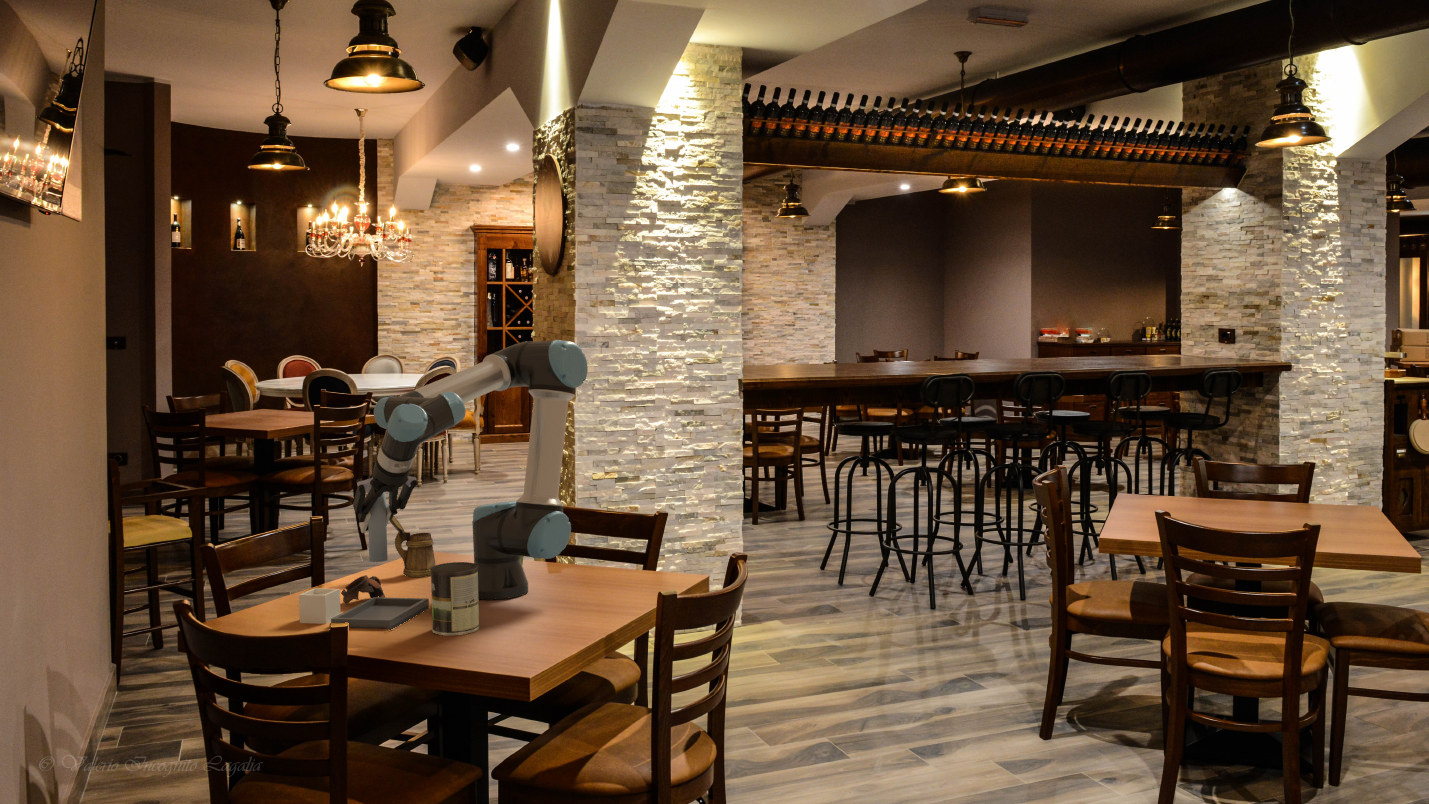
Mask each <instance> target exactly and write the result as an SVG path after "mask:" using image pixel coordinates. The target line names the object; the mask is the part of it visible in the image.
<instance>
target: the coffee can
mask: <svg viewBox="0 0 1429 804" xmlns="http://www.w3.org/2000/svg"><path fill="white" fill-rule="evenodd" d="M430 572H431V576H430V583H431V589H430V590H431V620H432V621H431V622H432V624H431V625H432V626H431V627H432V628H431V630H432V631H431V632H432V633H433V634H434V633H435V634H434V635H437V634H438V635H437V636H442V635H443V636H444V637H454V636H455V635H458V636H464V635H469V634H472V633H475V632H477V631H479V629H480V612H479V611H480V609H479V599H478V565H477V564H475V563H474V562H467V561H453V562H445V563H439V564H436V566H433V567H431V568H430ZM468 633H469V634H468ZM463 634H464V635H463ZM455 637H456V636H455Z"/></svg>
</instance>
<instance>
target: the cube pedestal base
mask: <svg viewBox="0 0 1429 804" xmlns="http://www.w3.org/2000/svg"><path fill="white" fill-rule="evenodd" d="M340 590H341V589H340V588H320V587H319V588H317V587H315V588H312V589H309V590H307V591H304V592H302V593H300V594H298V605H299V607H298V609H299V610H298V611H299V624H316V625H317V624H320V625H325V624H329V623H331V619H332V618H333V617H335V616H337V615H339V614H341V591H340Z"/></svg>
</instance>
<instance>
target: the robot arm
mask: <svg viewBox="0 0 1429 804" xmlns="http://www.w3.org/2000/svg"><path fill="white" fill-rule="evenodd" d="M588 369H589V367H588V359H587V358H586V354H585V353H584V352H583V349H582V348H581V347H580V346H579V345H578V344H576V342H573V341H569V340H562V339H561V340H560V339H556V340H555V339H554V340H537V341H536V340H529V341H528V340H527V341H522V342H519V343H515V344H513V345H510V346H508V347H505V348H502V349H501V350H498V351H495V352H493V353H491V354H488V355H486V356H485V357H484V358H483V360H482V362H479V363H476V364H475V365H473V366H472V365H471V366H470V367H468V368H465V369H462V370H460V371H458V372H455V373H453V374H450V375H448V376H445V377H443V378H441V379H439V380H436V381H433V382H431V383H429V384H426V385H424V386H423V385H422V386H421V387H418V388H417V389H413V390H412V391H409V392H406V393H403V394H401V395H398V396H394V395H391V396H385V397H382V398H380V399H379V400H378V401H377V402H376V404H375V406H374V407H373V408H374V409H373V416H374V417H373V418H374V420H375V422H376V424H377V425H378V427H380V428H382V429H385V434H384V437H383V440H382V443H381V444H380V447H379V450H378V452H377V453H378V454H377V458H376V460H375V462H374V466H373V469H372V473H371V475H370V476H369V477H368V478H367V479H365V480H363V479H362V478H357V479H356V484H357V485H356V486H357V487H356V490H355V495H354V499H353V503H352V506H353V511H354V514H355V515H357V518H358V521H359V523H358V525H359V528H360V532H361V534H365V533H366V530H367V528H368V522H369V520H370V517H371V514H370V510H371V508H372V507H373V505H374V504H375V502H376V501H377V499H378V497H381V495H382V494H383V492H386V493H387V492H388V503H386V521H387V525H388V524H389V522H390V521H389V519H392V518H393V516H394V517H395V515H396V516H397V514H398V510H401V511H403V510H405V509H406V507H407V504H408V502H409V500H410V497H411V495H412V492H413V490H414V489H415V488H416V487H417V486H418V484H419V483H418V480H417V477H416V474H415V473H411V474H410V472H411V470H412V466H413V463H414V460H415V458H416V455H417V453H418V449H419V447H420V445H421V444H422V443H424V442H427V441H428V440H430V439H432V438H433V437H436V436H438V435H439V434H441V433H444V432H445V431H446V430H449V429H451V428H454V427H455V426H456V425H457V424H459V423H460V422H462V421H463V420H464V419H465V417H466V411H467V410H466V406H465V404H466V403H468V402H471V401H472V400H475V399H477V398H479V397H481V396H484V395H487V394H488V393H490V392H494V391H496V392H497V391H498V392H502V391H506V390H508V389H511V388H517V387H519V388H520V387H528V393H529V394H530V396H531V397H532V398H533V402H532V412H531V420H530V421H531V423H530V432H529V438H528V439H529V441H528V448H527V449H528V451H527V458H526V467H525V468H526V469H525V476H524V484H523V494H522V495H521V496H520V497H519V498H518V499H517V500H509V501H502V502H501V501H500V502H493V503H487V504H481V505H478V506H476V507H475V508H474V509H473V512H472V522H471V524H472V541H473V543H472V544H473V546H472V547H473V563H475V564H477V565H478V600H505V599H513V598H517V597H520V596H521V597H522V596H523V595H526V594H527V593H528V592H529V581H528V578H527V576H526V573H525V570H524V569H525V568H524V566H523V565H522V564H521V556H524V557H526V558H533V559H536V560H537V559H539V560H540V559H541V560H542V559H545V560H546V559H548V560H549V559H553V558H555V557H557V556H559V555H560V554H561V552H563V551H564V549H566V547H567V545H568V543H569V541H570V538H571V533H572V526H571V525H572V524H571V522H570V521H569V520H570V519H569V517H568V516H567V515H566V514H565V513H564V504H563V502H562V501H561V500H560V498H559V494H560V493H559V492H560V484H561V475H562V464H563V455H564V446H565V445H564V444H565V435H566V428H567V420H568V419H567V417H568V416H567V415H568V409H569V403H570V401H572V400H573V399H574V398H575V397H576V390H577V388H579V387H580V386H583V384H584V382H585V381H586V379H587V375H588V373H589V371H588ZM369 485H372V486H371V489H370V491H369V493H368V494H367V490H368V489H367V488H368V486H369ZM401 487H402V488H401ZM399 488H401V489H400V493H399Z"/></svg>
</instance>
